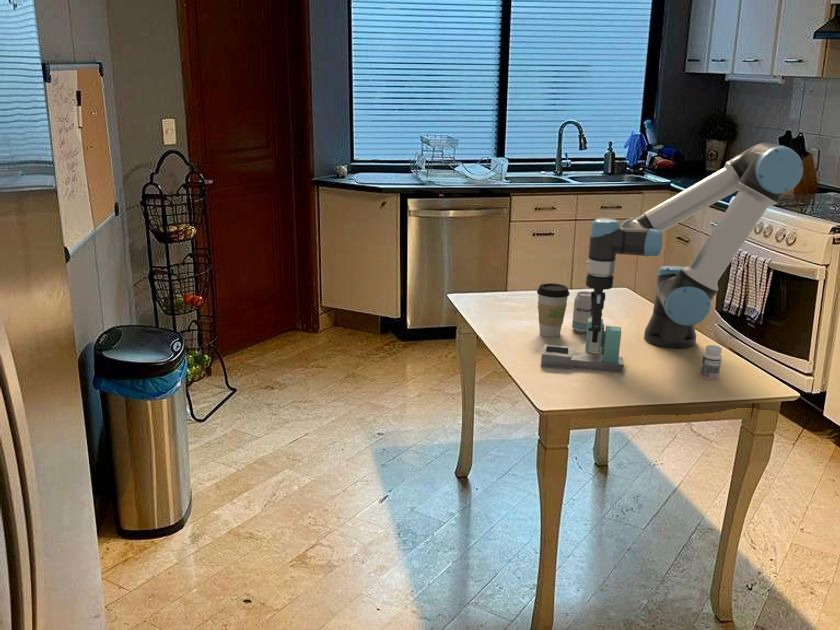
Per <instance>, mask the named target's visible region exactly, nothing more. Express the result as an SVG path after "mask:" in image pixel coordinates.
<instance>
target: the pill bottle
mask: <svg viewBox="0 0 840 630" xmlns="http://www.w3.org/2000/svg"><path fill="white" fill-rule="evenodd" d="M722 350H723V348H722V347H721V346H718V345H713V344H709V345H706V346H705V350H704V351H705V352H704V353H703V355H702V361H701V368H700V369H701V370H700V376H701V377H702V378H704V379H706V378H707V380H718V379H719V377H720V372H721V366H722V359H723V357H722V356H723V355H722Z"/></svg>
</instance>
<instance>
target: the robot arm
mask: <svg viewBox="0 0 840 630" xmlns="http://www.w3.org/2000/svg"><path fill="white" fill-rule="evenodd" d="M803 165H804V164H803V162H802V158H801V157H800V155H799V154H798V153H797V152H796V151H795V150H793V149H792V148H790V147H787V146H786V145H783V144H782V145H780V144H778V143H775V142H769V141H768V142H767V141H764V142H761V143H757V144H755V145H753V146H751V147H748V148H747V149H746V150H744V151H743V152H741V153H739V154H738V155H736V156H734V157H733V158H731V159H730V160H728V161H726V162H725V164H724V166H723V168H721V169H719V170H717V171H716V172H713V173H712V174H711V175H708V176H707V177H704V178H703V179H702V180H700V181H698V182H696V183H694V184H692V185H691V186H689V187H687V188H685V189H684V190H682V191H680V192H679V193H677V194H676V195H673V196H672V197H670V198H668V199H667V200H665V201H663V202H661V203H659V204H657V205H655V206H654V207H652V208H650V209H648V210H647V211H645V212H644V213H642V214H640V215H638V216H636V217H630V218H627V219H625V220H624V221H623V222H622V224H621V226H620V222H619V220H617V219H614V218H607V217H605V218H602V217H601V218H596V219H594V220H593V221H592V223H591V229H590V234H589V247H588V259H587V260H586V261H585V265H587V272H588V273H586V276H585V277H586V279H585V286H586V287H588V288H589V289H593V291H590V292H591V308H592V309H591V317H590V318H592V326H591V328H589V329H588V331H590V340H589V350H588V352H587V353H594V354H599V353H598V349H599V339H600V331H601V319H602V317H603V309H604V307H605V300H606V292H604V290H611V289H612V288H613V285H614V279H615V277H614V274H615V268H616V256H617V255H627V256H628V255H629V256H638V257H639V256H641V257H657V256H659V255H660V254H661V252H662V249H663V248H662V247H663V232H664V231H667V230H669V229H671V228H673V227H674V226H676V225H677V224H679V223H682V222H683V221H686V220H687V219H688V218H690V217H692V216H694V215H695V214H697V213H699V212H702V211H703V210H705V209H707V208H708V207H711V206H712V205H713V204H715V203H717V202H719V201H721V200H723V199H725V198H726V197H728V196H730V195H732V194H734V193H735V192H737V194H736V195H735V197H734V198H733V200H732V201H731V203H729V206H728V207H727V209H726V210H725V212H723V215H722V216H721V218H720V219H719V221H718V222H717V223H716V225H715V227H714V228H713V230H712V231H711V233H710V234H709V236H708V238H706V239H705V241H704V244H703V245H702V246H701V248H700V249H699V251H698V252H697V254H696V256H695V257H694V259H693V260H692V262H691V263H690V265H688V266H682V265H681V266H676V265H663V266H660V267H659V268H658V272H657V274H656V287H655V292H654V293H655V294H654V299H653V300H654V301H653V309H652V315H651V316H650V319H649V321H648V323H647V325H646V327H645V329H644V333H643V334H644V335H643V338H644V340H645V341H646V342H648V343H650V344H652V345H654V346H657V347H662V348H668V349H669V348H670V349H688V348H692V347H694V346H695V345H696V342H697V333H696V326H695V325H697V324H700V323H701V322H703V321H704V320H705V319H706V318H707V317H708V315H709V313H710V311H711V307H712V305H711V304H712V303H711V301H712V300H713V299H714V297H715V296H716V294H717V293H718V291H719V286H718V282H719V280H720V278H721V277H722V275H723V274H724V273H725V271H726V269H727V267H728V266H730V263H731V262H732V261H733V260H734V258H735V256H736V254H737V253H738V252H739V251H740V249H741V247H742V246H743V245H744V244H745V242H746V240H747V238H748V237H749V236H750V234H751V233H752V231H753V230H754V228H755V227H756V225H757V224H758V222H759V221H760V220H761V218H762V217H763V215H764V214H765V213H766V211H767V210H768V208H769V207H770V206H775V205H777V204H779V202H780V201H781V199H782V197H783V196H784V195H785V193H788V192H789V191H792V190H793V189H794V188H796V186H797V185H798V184H799V183H800V181H801V180H802V177H803V174H804V173H803V172H804V166H803ZM594 326H598V327H594Z"/></svg>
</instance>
